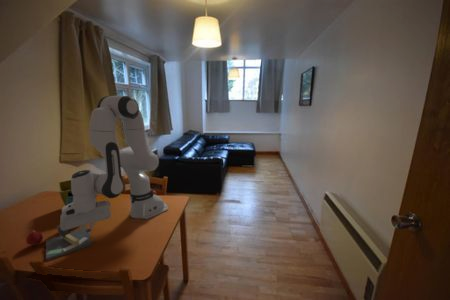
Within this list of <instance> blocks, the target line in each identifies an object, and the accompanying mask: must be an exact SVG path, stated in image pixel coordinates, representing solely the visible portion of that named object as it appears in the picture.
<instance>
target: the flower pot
mask: <svg viewBox="0 0 450 300" xmlns="http://www.w3.org/2000/svg"><path fill="white" fill-rule="evenodd" d="M57 185H58V192H59V194H60V195H59V196H60V198H61V200H62V203H63V204H64V206H66V205H67V203H66V200H67V199H68V198H69V196H68V192H69V191H72V190H71V179H69V180H64V181H59V182H58V184H57ZM97 195H98V194H96V195H95V197H96V198H97Z"/></svg>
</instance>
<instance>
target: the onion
mask: <svg viewBox="0 0 450 300" xmlns="http://www.w3.org/2000/svg"><path fill="white" fill-rule="evenodd" d="M43 238H44V237H43V234H42V232H40V231H37V230H32V231H31V232H30V233H29V234H28V235H27V237H26V238H25V241H26V244H27V245H28V246H32V247H33V246H34V247H36V246H38V245H39V244H40V243H41V242H42V241H43Z"/></svg>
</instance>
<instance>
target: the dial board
mask: <svg viewBox="0 0 450 300" xmlns="http://www.w3.org/2000/svg"><path fill="white" fill-rule="evenodd" d="M69 234H70V235H71V236H73V237H75V238H76V239H78V240H79V245H78V246H74V245H72V244H71V243H69V242H68V241H66V240H64V239H62V236H61V235H59V236H55V237H52V238H48V239H46V242H45V246H46V247H45V261H46V262H47V261H50V260H53V259H55V258H59V257H62V256H65V255H68V254H71V253H73V252H76V251H78V250H82V249H85V248H87V247H91V246H92V245H93V242H92V239H91V236H90V232H87V233H85V231H84V230H83V229H82V228H80V229H78V230H75V231H71V232H69Z"/></svg>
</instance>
